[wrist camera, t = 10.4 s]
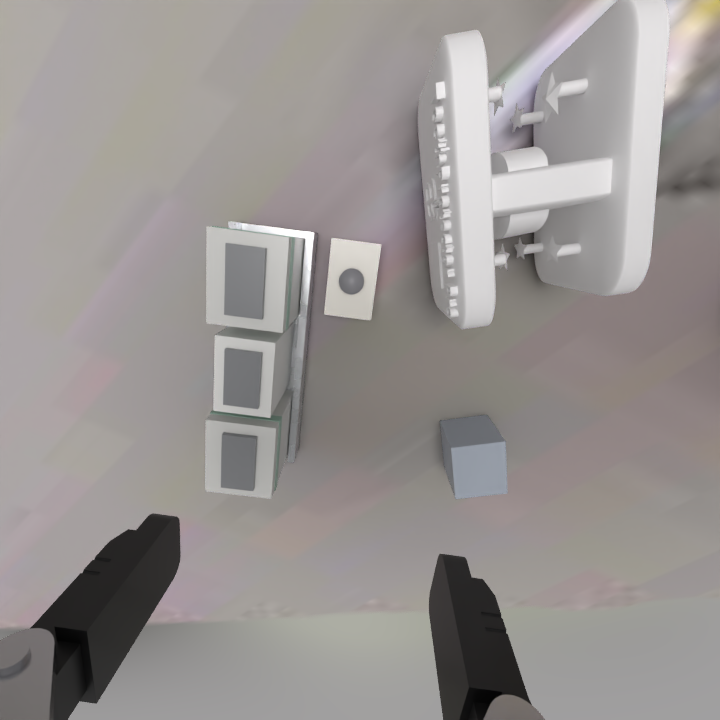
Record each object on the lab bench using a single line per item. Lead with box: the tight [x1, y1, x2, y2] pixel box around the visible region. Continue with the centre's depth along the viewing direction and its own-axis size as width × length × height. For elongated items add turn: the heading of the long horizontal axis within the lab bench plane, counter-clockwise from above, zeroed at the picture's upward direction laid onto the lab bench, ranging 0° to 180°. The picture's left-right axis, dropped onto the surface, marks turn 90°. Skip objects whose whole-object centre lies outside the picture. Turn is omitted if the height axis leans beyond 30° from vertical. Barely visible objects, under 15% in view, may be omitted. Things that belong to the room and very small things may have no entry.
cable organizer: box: [418, 0, 670, 329], centre depth 24 cm, size 15×11×12 cm
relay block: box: [440, 415, 508, 499], centre depth 34 cm, size 4×5×5 cm
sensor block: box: [324, 238, 381, 321], centre depth 29 cm, size 4×6×5 cm, turn 173°
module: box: [213, 322, 295, 418], centre depth 29 cm, size 4×6×7 cm
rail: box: [226, 221, 318, 463], centre depth 32 cm, size 6×20×2 cm, turn 173°
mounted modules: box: [205, 226, 305, 499], centre depth 29 cm, size 5×19×7 cm, turn 173°
